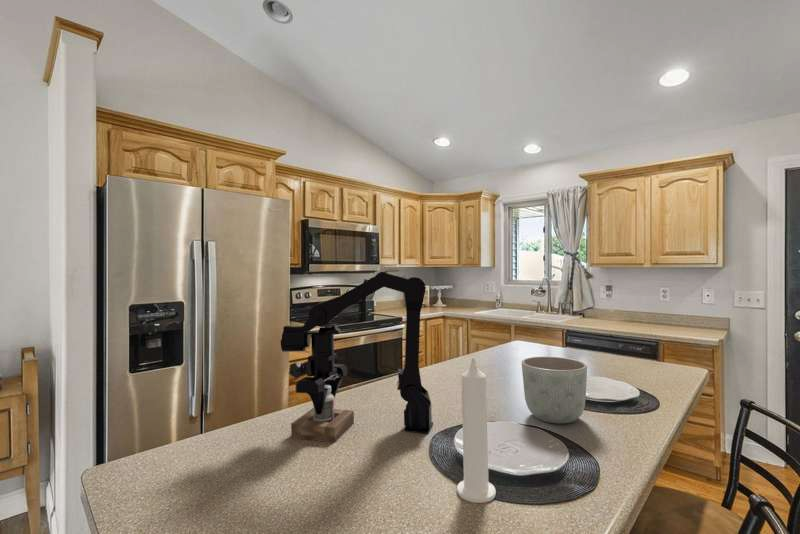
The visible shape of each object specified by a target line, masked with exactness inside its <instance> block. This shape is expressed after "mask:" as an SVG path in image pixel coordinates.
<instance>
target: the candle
mask: <svg viewBox="0 0 800 534" xmlns="http://www.w3.org/2000/svg"><path fill="white" fill-rule="evenodd" d="M470 362H471V363H470V366H469V368H468V369H467V370H466V371H465V372H463V373H462V374H461V404H462V405H461V406H462V407H461V408H462V409H461V411H462V412H461V413H462V416H461V417H462V455H463V456H462V459H463V461H462V463H463V480H461V481H459V483H458V484H457V485H456V486H457V487H456V492H457V494H458V496H459V497H460V498H461V499H463V500H465V501H466V502H468V503H469V502H470V503H474V504H483V503H488V502H491V501H492V500H494V499H495V497H496V493H497V491H496V487H495V486H494V485H493V484H492V483H491V482H489V454H488V453H489V450H488V449H489V447H488V445H489V444H488V443H489V441H488V440H489V439H488V410H487V409H488V405H487V404H488V403H487V401H488V399H487V375H486V374H485V373H483V372H482V371H481V370H480V369H479V368H478V366H477V361H476V358H475V357H472V358H471V361H470Z"/></svg>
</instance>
